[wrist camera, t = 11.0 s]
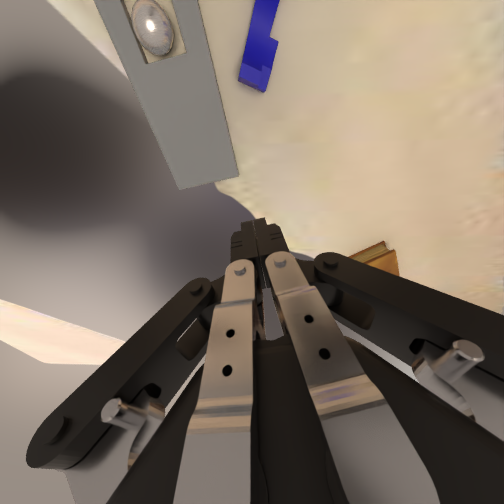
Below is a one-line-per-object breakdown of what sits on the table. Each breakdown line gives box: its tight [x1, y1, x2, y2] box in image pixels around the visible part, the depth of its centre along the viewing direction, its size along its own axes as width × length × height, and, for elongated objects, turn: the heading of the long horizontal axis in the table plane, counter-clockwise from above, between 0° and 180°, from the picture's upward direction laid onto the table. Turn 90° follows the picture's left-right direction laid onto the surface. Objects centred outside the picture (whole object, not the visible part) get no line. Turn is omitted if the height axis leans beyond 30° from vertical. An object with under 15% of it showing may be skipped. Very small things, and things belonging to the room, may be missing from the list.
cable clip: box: [238, 0, 280, 92], centre depth 26 cm, size 12×4×6 cm, turn 161°
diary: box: [349, 241, 399, 276], centre depth 61 cm, size 23×19×6 cm
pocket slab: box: [94, 0, 239, 190], centre depth 31 cm, size 28×13×2 cm, turn 11°
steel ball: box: [131, 0, 173, 55], centre depth 25 cm, size 5×5×5 cm
